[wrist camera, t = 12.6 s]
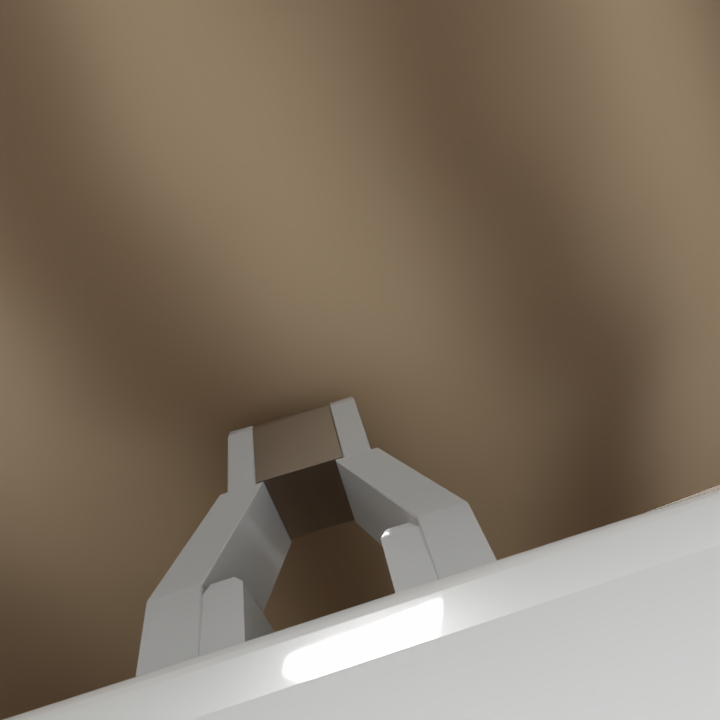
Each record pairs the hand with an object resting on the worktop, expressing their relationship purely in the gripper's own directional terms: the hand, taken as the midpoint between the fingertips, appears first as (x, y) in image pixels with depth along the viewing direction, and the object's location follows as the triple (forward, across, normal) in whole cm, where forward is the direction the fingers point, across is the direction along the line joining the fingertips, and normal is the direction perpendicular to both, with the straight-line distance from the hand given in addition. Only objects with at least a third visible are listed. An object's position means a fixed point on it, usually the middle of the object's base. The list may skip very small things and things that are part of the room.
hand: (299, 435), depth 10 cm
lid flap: (+1, -1, +2) cm, 3 cm away
